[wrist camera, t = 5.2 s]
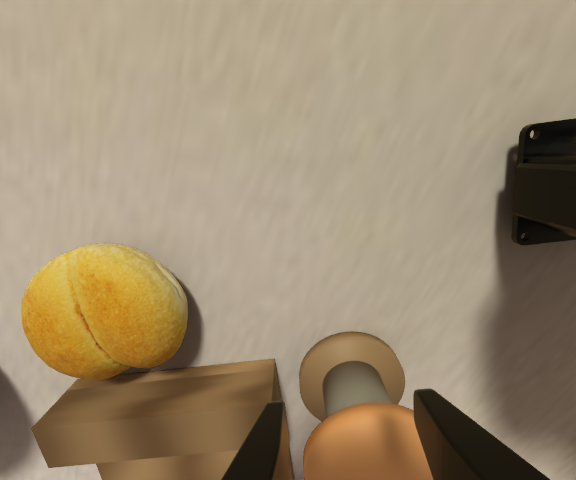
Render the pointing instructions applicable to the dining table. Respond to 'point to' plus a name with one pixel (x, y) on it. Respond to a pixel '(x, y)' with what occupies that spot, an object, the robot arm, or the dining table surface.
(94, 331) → the bread roll
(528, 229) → the robot arm
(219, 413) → the notch board
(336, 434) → the orange capped knob
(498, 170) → the dining table surface
